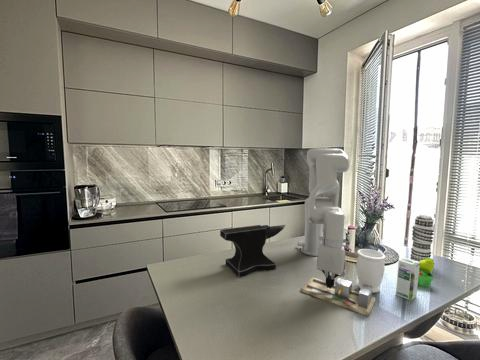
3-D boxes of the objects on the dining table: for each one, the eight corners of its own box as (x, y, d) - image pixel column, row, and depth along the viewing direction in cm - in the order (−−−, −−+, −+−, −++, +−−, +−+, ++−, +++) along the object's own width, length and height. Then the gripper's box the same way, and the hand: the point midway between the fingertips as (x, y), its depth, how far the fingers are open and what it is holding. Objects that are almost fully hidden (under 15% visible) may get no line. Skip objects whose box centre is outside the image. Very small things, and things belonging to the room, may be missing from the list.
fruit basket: (404, 274, 119) (407, 251, 118) (427, 277, 116) (429, 253, 115) (412, 285, 108) (414, 260, 107) (437, 289, 105) (440, 264, 104)
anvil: (228, 280, 109) (229, 236, 107) (216, 266, 122) (216, 227, 120) (293, 265, 125) (295, 227, 123) (275, 254, 138) (277, 220, 136)
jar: (381, 297, 98) (385, 260, 97) (353, 289, 104) (355, 254, 102) (383, 285, 107) (386, 251, 106) (356, 278, 113) (359, 246, 111)
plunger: (331, 299, 94) (332, 286, 93) (338, 289, 101) (339, 277, 100) (345, 304, 91) (346, 291, 90) (351, 294, 98) (352, 281, 97)
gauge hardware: (306, 287, 102) (307, 275, 102) (313, 279, 108) (314, 268, 108) (367, 309, 89) (368, 295, 88) (371, 299, 95) (372, 286, 94)
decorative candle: (407, 263, 131) (412, 216, 128) (410, 257, 138) (414, 213, 135) (429, 268, 125) (435, 219, 122) (431, 262, 132) (436, 216, 129)
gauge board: (300, 291, 102) (300, 287, 101) (312, 279, 111) (312, 276, 111) (368, 316, 87) (369, 312, 86) (375, 300, 96) (375, 296, 96)
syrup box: (394, 294, 101) (398, 259, 99) (400, 290, 104) (404, 256, 103) (411, 301, 96) (414, 265, 95) (417, 296, 100) (420, 261, 98)
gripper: (310, 240, 100) (308, 284, 102) (350, 249, 91) (346, 297, 93) (317, 235, 106) (314, 277, 108) (355, 244, 97) (351, 289, 99)
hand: (329, 286), depth 100 cm, fingers closed
